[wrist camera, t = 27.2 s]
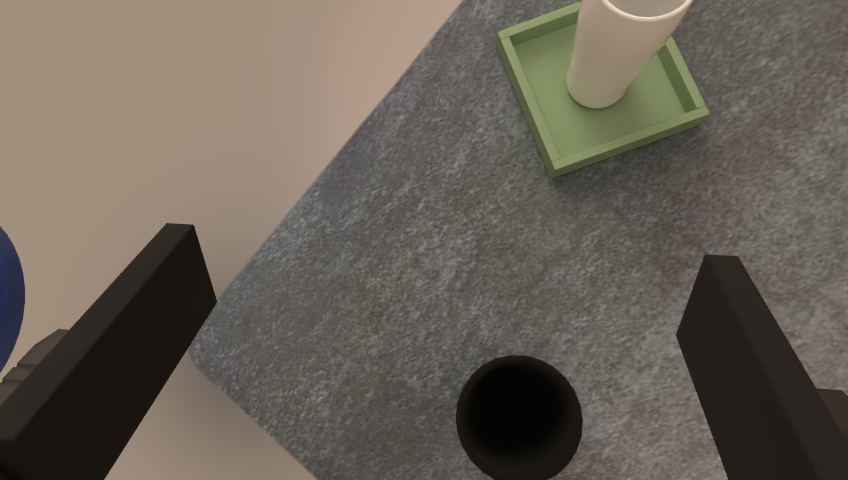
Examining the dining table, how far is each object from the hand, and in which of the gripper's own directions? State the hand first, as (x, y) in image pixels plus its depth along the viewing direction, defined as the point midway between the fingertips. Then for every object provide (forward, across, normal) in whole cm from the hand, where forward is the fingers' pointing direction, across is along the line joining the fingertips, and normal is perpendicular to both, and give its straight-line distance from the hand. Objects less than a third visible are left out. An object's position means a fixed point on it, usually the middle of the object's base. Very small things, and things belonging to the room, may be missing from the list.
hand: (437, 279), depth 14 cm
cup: (+19, +4, -28) cm, 34 cm away
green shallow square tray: (+38, +11, -8) cm, 41 cm away
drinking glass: (+38, +10, -8) cm, 40 cm away
